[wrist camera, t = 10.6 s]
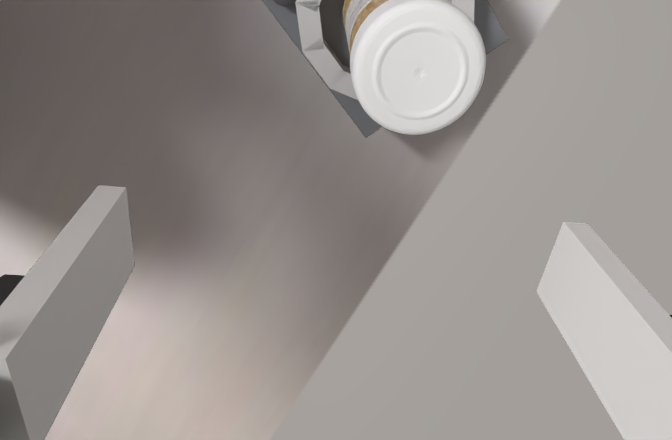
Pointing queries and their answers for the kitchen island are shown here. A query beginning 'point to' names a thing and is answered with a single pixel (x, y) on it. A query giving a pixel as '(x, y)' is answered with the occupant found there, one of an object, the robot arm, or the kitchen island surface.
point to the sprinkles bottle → (413, 62)
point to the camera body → (333, 52)
